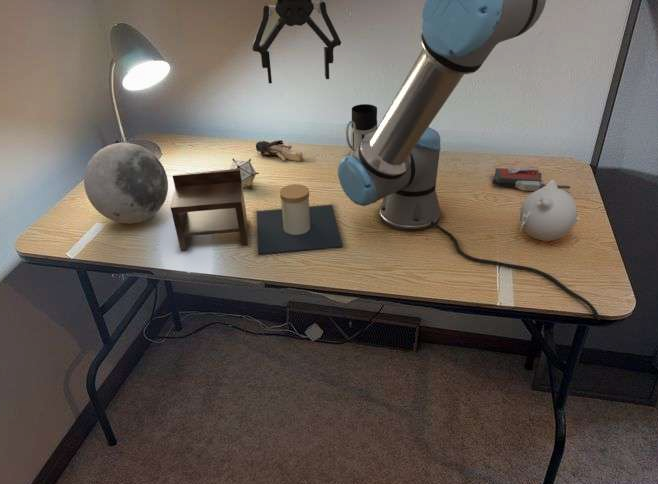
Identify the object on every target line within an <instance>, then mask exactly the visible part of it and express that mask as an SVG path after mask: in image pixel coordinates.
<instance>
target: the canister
mask: <svg viewBox="0 0 658 484" xmlns="http://www.w3.org/2000/svg"><path fill="white" fill-rule="evenodd" d="M279 198H280V207H281V208H280V209H282V218H283V229H284V231H285V232H286V233H288V234H292V235H299V234H304V233H306V232H308V231H309V230H310V209H309V207H310V189H309V187H308V186H306V185H303V184H297V183H293V184H287V185H285V186H283V187H282V188H280V189H279Z"/></svg>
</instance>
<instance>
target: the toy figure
mask: <svg viewBox="0 0 658 484" xmlns="http://www.w3.org/2000/svg"><path fill="white" fill-rule="evenodd" d="M292 147H293V146H292V145H290V144H289V145H286V144H284V141H283V139H281V140H274V141H272V142H269V141H267V140H266V141H265V140H263V141H262V140H261V141H256V143H255V150H256V152H257V154H258V155H260V156H265V155H269V156H276V157H277V156H278V157H279V158H281V160H282V161H286V160H289V161H297V162H301V161H302V159H303V152H302V151H301V150H300V151H299V150H292Z"/></svg>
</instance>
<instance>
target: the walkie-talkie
mask: <svg viewBox="0 0 658 484" xmlns="http://www.w3.org/2000/svg"><path fill="white" fill-rule="evenodd" d="M493 177H494V179H493V180H492V182H491V183H492V184H493V185H495V186H496V187H499V188H515V189H518V190H521V191H527V192H529V191H530V192H535V191H537V190H539V189H541V188H543V187H545V186H546V185H547V184H544V183H541V182H542V181H543V178H542V173H541V172H539V170H538V169H536V168H535V167H534V166H518V167H516V168H512V167H509V166H508V167H507V168H502V167H497V168H495V171H494V175H493ZM557 187H558V188H559V189H562V190H564V189H567V190H568V189H571V186H570V185H559V184H557Z"/></svg>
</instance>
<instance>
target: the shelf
mask: <svg viewBox="0 0 658 484" xmlns="http://www.w3.org/2000/svg"><path fill="white" fill-rule="evenodd" d="M172 180H173V184H174V185H173V186H174V190H173V195H172V199H171V203H170V212H171V215H172V221H173V224H174V229H175V232H176V237H177V241H178V246H179V250H180V252H181V253H183V252H187V251H188V249H189V248H188V247H189V240H190V237H198V236H210V235H219V234H231V233H232V234H233V233H239V239H240V245H241V247H246V246H247V247H248V243H249V242H248V241H249V240H248V236H249V234H248V228H249V227H248V226H249V225H248V216H247V209H246V202H245V194H244V187H243V186H242V179H241V172H240V169H230V168H229V169H219V170H207V171H195V172H194V171H193V172H183V173H172Z"/></svg>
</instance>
